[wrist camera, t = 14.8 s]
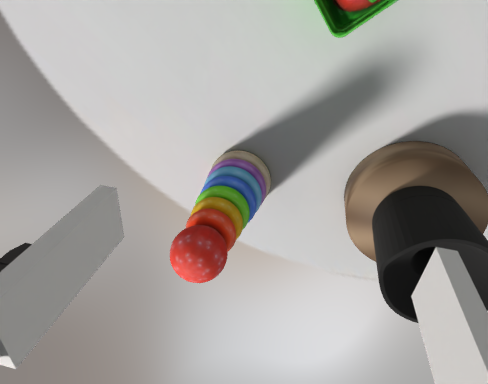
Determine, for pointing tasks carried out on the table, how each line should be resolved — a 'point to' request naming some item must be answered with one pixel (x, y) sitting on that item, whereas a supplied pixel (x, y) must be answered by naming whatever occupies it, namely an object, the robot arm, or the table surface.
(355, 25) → the fruit basket
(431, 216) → the pen holder
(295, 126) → the table surface
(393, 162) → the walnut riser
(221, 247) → the stacking toy
